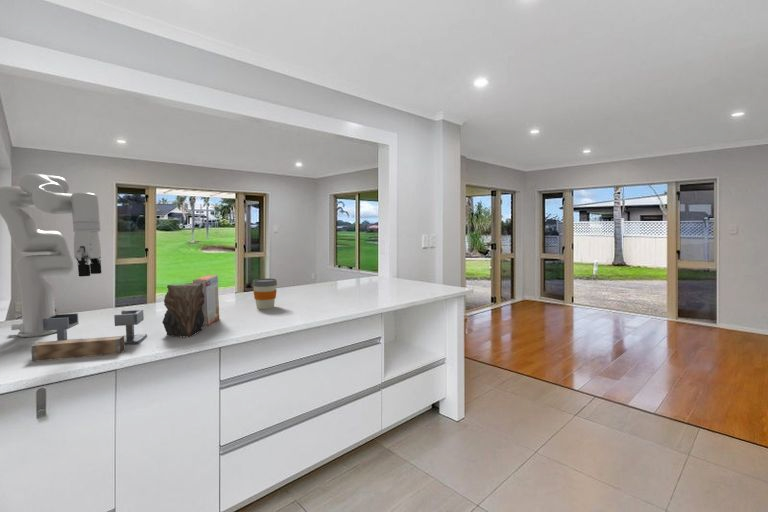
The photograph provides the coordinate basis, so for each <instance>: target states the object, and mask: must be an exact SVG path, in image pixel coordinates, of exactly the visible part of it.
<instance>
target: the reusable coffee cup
mask: <svg viewBox="0 0 768 512" xmlns="http://www.w3.org/2000/svg"><path fill="white" fill-rule="evenodd" d="M277 285H278V282H277V278H256V279H253V280H252V287H253V297H254V300H255V304H256V308H257V309H259V310H267V309H270V310H271V309H273V308H275V301H276V298H277V291H278V289H277Z"/></svg>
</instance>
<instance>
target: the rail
mask: <svg viewBox="0 0 768 512" xmlns="http://www.w3.org/2000/svg"><path fill="white" fill-rule="evenodd" d="M124 336H125V335H120V336H119V335H117V336H105V337H89V338H74V339H75V340H70V339H67V340H61V341H57V340H51V341H37V342H35V343H33V344H32V345H31V346H30V349H31V350H30V351H31V362H37V361H36V360H39V361H49V360H50V359H51V360H60V359H59V358H63V359H72V358H71V357H74V358H83V356H86V357H95V356H96V357H97V356H107V355H108V356H109V355H120V354H122V353H123V352H125V345H124Z"/></svg>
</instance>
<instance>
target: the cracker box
mask: <svg viewBox="0 0 768 512" xmlns="http://www.w3.org/2000/svg"><path fill="white" fill-rule="evenodd" d="M218 276H219V275H215V274H214V275H213V274H212V275H208V274H207V275H203V276H201V277H198V278H195V279H193V280H192V283H194V284H200V283H202V285H203V289H202V291H203V293H204V304H203V306H202V312H203V315H204V323H203V326H202V327H209V326H211V325H212V324H214V323H215V322H216V321H218V320H219V319H220V306H219V305H220V303H219V301H220V300H219V299H220V298H219V297H220V296H219V277H218Z"/></svg>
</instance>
